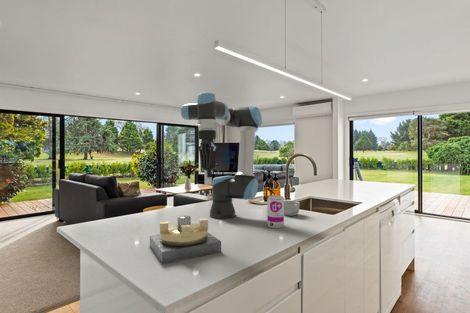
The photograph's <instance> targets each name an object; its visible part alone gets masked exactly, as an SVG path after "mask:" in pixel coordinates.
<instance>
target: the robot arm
mask: <svg viewBox="0 0 470 313" xmlns="http://www.w3.org/2000/svg"><path fill="white" fill-rule="evenodd" d="M180 115H181V117H182V119H184V120H188V121H191V120H192V121H193V120H195V121H196V120H197V126H198V128H197V129H198V132H197V134H198V136H197V138H198V140H200V141H201V142H200V144H201V145H200V146H197V148H198V151H199V158H200V165H201V167H200V168H202V169H203V170H204V186H211V187H212V189H211V190H212V191H211V192H212V193H211V194H212V198H211V199H212V203H211V206H210V209H209V217H211V218H213V219H229V218H230V219H231V218H233V217H235V216H236V210H235V207H234V204H233V199H234V200H235V199H236V200H244V201H245V200H246V201H247V200H253V199H255V197H256V196H257V193H258V190H259V181H258V179H257V178H256V175H255V174H254V173H253V171H254V155H255V153H254V152H255V137H256V133H257V131H258V130H259V127H261V126H262V124H263V120H262V114H261V110H260V109H259V107H257V106H244V107H243V106H242V107H241V106H240V107H233V108H232V107H231V108H229V107H228V105H227V104H226V103H224V102H222V101H218V100H216V95H215V93H212V92H200V93H198V94H197V102H196V103H186V104H183V105H182V106H181V108H180ZM216 124H219V125H220V126H224V127H225V126H226V127H230V128H237V130H238V131H239V132H240V133H239V146H238V148H239V149H238V162H237V172H236V173H235V174H234V177H233V176H232V175H224V176H217V177H214V178H213V177H212V176H213V175H212V174H213V173H212V172H213V169H215V168H216V160H217V158H216V156H217V150H218V146H217V145H215V141H214V140H215V139H216V138H217V130H216V129H217V125H216Z"/></svg>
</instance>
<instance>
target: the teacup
mask: <svg viewBox="0 0 470 313" xmlns="http://www.w3.org/2000/svg"><path fill="white" fill-rule="evenodd" d="M299 212H300V201H296V200H284V216H290V217H292V216H293V217H294V216H297V215H298V214H299Z"/></svg>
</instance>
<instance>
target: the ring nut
mask: <svg viewBox="0 0 470 313" xmlns="http://www.w3.org/2000/svg"><path fill="white" fill-rule="evenodd" d="M176 219H177V220H176V221H177V224H172V225H169V221H168V220H167V221H165V220H164V221H159V235H160V241H161V242H162V243H164V244H167V245H172V246H186V245H193V244H198V243H201V242H203V241H205V240H206V239H207V238H208V233H209V231H208V229H209V219H208V218H207V217H203V218H201V217H200V218H198V224H197V223H191V222H192V218H191V216H190V215H178V216H177V218H176Z"/></svg>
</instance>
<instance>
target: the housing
mask: <svg viewBox="0 0 470 313" xmlns="http://www.w3.org/2000/svg"><path fill="white" fill-rule="evenodd" d="M149 247H150V249H151V250H152V251H153V253H154V255H155V256H156V257H157V258H158V261H160V263H161V264H162V265H164V264H169V263H174V262H179V261H183V260H188V259H194V258H198V257H203V256H207V255H208V256H209V255H213V254H218V253H222V241H221V240H220V239H219V238H217V237H215V236H213V235H212V234H210V233H209V232H208V238H207V239H206V240H205V241H203V242H201V243H198V244H193V245H186V246H172V245H167V244H164V243H162V242H161V241H160V234H155V235H154V234H153V235H149Z"/></svg>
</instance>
